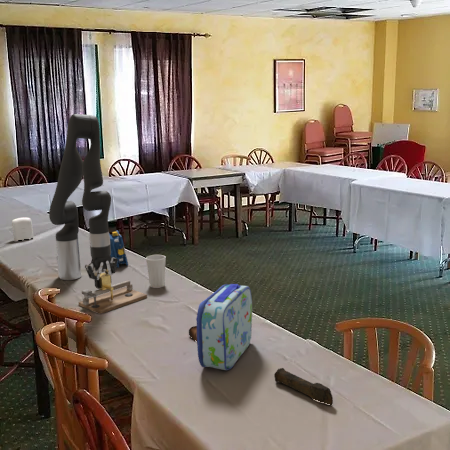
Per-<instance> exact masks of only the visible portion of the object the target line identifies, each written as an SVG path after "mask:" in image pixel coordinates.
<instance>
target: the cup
mask: <svg viewBox="0 0 450 450" xmlns="http://www.w3.org/2000/svg"><path fill="white" fill-rule="evenodd" d="M166 257H167V256H165V255H162V254H152V255H147V256H146V258H145V260H146V267H147V268H146V269H147V274H148V275H147V276H148V281H149V287H150V288H154V289H158V288H163V287H165V286H166V261H167V260H166Z"/></svg>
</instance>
